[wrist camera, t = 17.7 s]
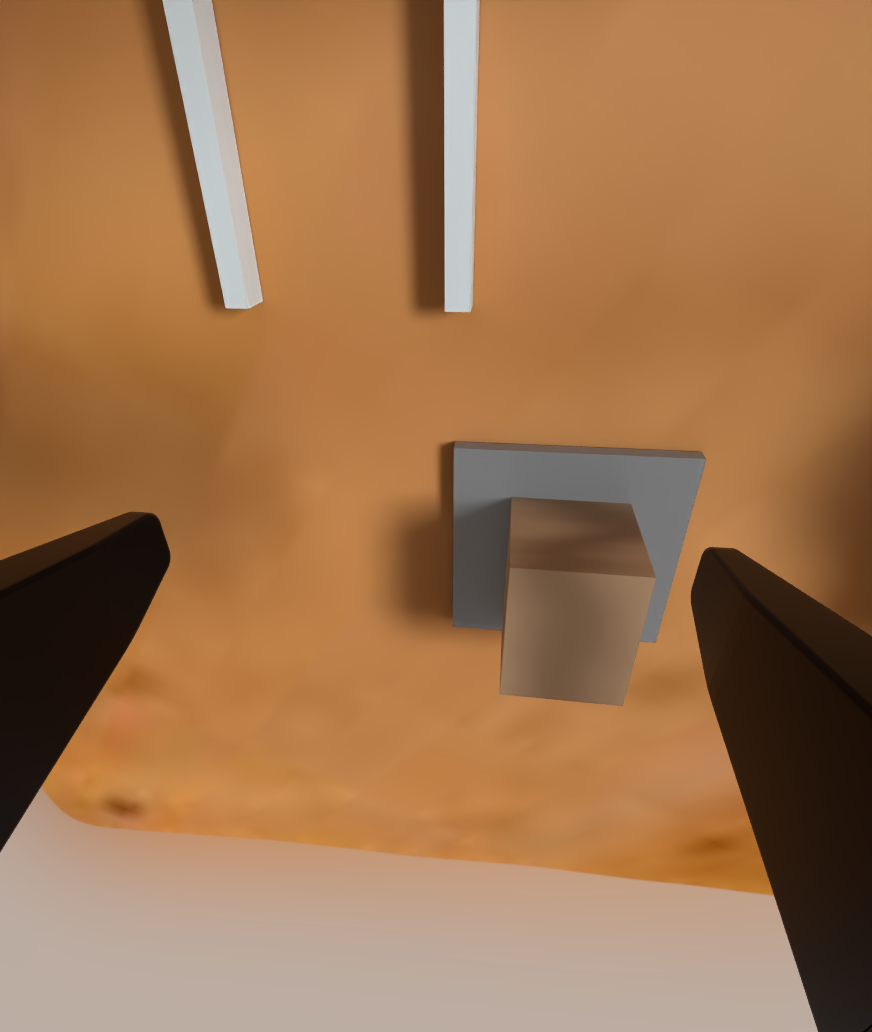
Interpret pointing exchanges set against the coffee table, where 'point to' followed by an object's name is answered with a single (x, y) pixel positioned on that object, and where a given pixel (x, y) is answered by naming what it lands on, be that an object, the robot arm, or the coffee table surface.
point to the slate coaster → (563, 476)
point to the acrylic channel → (221, 167)
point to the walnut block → (573, 600)
